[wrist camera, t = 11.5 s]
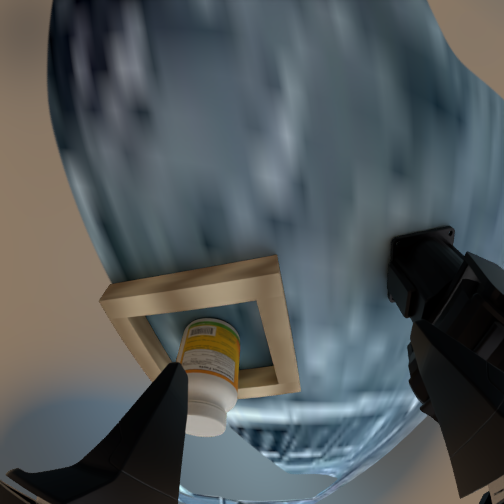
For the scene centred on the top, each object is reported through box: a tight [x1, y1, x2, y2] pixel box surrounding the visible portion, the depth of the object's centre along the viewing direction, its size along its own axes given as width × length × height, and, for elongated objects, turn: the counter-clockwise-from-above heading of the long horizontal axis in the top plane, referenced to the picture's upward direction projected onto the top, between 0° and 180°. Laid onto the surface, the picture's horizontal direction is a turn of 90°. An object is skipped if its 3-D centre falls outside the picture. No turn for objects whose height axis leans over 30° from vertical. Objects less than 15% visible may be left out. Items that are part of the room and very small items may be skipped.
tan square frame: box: [99, 255, 301, 399], centre depth 24 cm, size 15×15×2 cm
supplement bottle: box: [176, 318, 240, 437], centre depth 21 cm, size 5×5×10 cm
